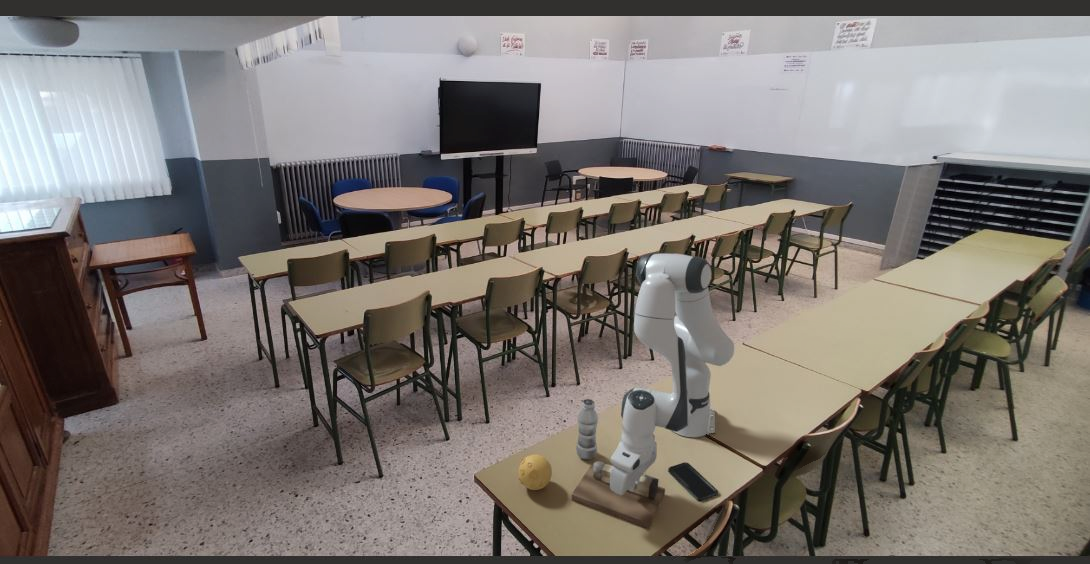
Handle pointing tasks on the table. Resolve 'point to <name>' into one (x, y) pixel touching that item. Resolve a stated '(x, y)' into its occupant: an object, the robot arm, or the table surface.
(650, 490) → the stool leg
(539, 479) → the stress ball
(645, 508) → the seat board
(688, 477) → the phone
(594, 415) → the plastic bottle
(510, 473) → the table surface
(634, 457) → the robot arm
